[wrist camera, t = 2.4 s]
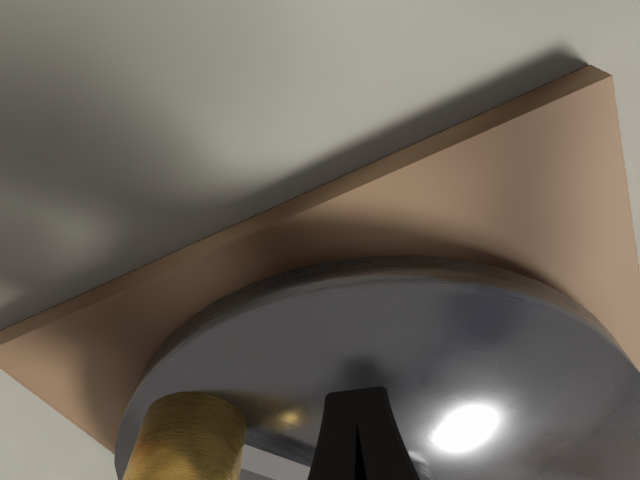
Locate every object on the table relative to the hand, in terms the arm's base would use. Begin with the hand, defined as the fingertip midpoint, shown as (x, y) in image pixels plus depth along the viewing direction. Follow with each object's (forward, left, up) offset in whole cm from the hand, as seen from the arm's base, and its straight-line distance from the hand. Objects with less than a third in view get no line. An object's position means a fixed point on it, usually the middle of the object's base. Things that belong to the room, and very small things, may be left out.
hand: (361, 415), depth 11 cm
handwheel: (+2, +6, -4) cm, 8 cm away
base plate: (+2, +6, -5) cm, 8 cm away
